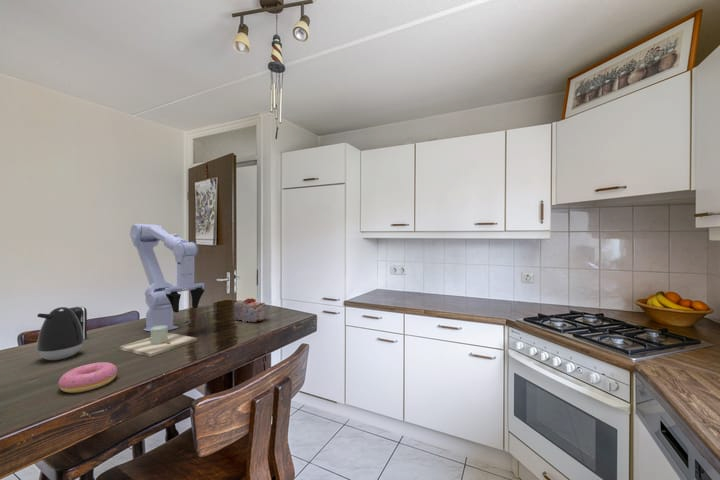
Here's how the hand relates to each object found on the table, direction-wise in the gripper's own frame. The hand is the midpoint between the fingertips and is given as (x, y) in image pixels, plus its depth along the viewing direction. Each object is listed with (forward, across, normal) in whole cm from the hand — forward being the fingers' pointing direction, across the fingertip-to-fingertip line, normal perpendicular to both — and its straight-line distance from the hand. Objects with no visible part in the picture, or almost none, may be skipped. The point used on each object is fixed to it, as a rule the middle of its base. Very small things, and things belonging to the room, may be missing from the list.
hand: (185, 309), depth 115 cm
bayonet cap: (+8, -12, -3) cm, 14 cm away
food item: (+10, +25, -7) cm, 28 cm away
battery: (+10, -20, +30) cm, 38 cm away
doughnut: (+10, -36, -16) cm, 41 cm away
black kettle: (+9, -31, +13) cm, 35 cm away
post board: (+9, -12, -3) cm, 15 cm away
